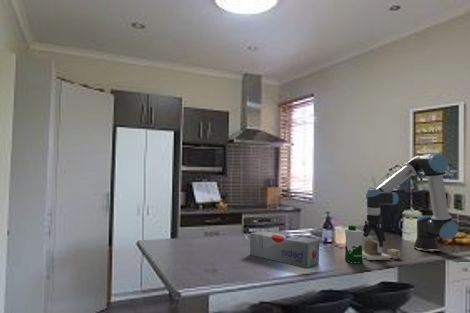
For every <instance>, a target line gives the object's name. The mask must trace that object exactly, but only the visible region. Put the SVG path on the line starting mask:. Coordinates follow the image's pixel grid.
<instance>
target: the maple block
mask: <svg viewBox="0 0 470 313" xmlns="http://www.w3.org/2000/svg"><path fill="white" fill-rule="evenodd" d="M386 254H387V255H389V256H391V257H399V256H400V255H401V251H400V250H399V249H395V248H389V249H387V252H386ZM400 257H401V256H400Z"/></svg>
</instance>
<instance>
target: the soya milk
mask: <svg viewBox="0 0 470 313" xmlns="http://www.w3.org/2000/svg"><path fill="white" fill-rule="evenodd" d="M344 232H345V233H344V235H345V249H344V250H345V253H344V261H345V260H347V261H346V262H348V261H349V262H348V263H350V262H352V263H354V262H363V258H362V251H363V239H364V236H363V234H364V233H365V232H364V231H363V230H361V229H357V227H356V225H348V228H347V229H346V228H345V229H344ZM352 263H351V264H352ZM363 263H364V262H363ZM354 264H355V263H354Z"/></svg>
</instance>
